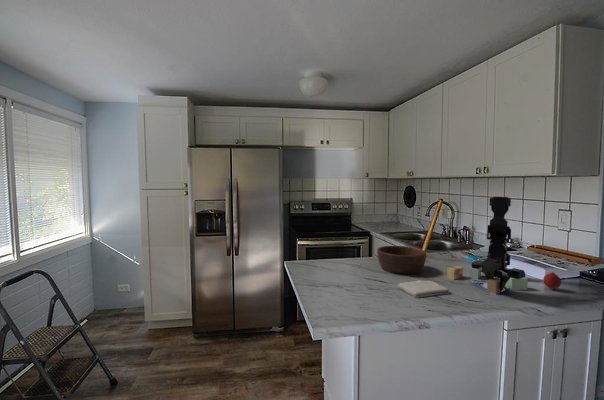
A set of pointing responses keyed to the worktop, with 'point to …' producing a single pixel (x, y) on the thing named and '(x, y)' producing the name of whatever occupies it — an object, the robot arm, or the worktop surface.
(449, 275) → the oak brick
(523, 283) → the sage brick
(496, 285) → the walnut brick
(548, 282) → the red rounded lump
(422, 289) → the washcloth
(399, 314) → the worktop surface
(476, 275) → the grey brick
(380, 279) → the worktop surface
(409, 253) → the wooden bowl
